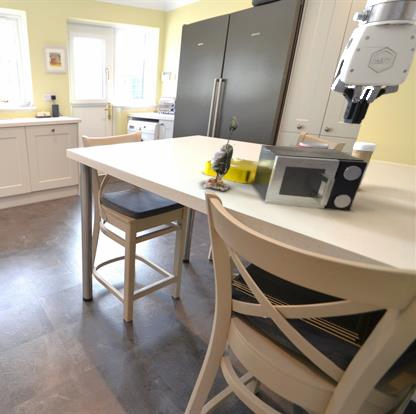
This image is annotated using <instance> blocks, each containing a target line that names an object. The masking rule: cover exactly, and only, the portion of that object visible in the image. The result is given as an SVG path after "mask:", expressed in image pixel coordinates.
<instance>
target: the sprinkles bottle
mask: <svg viewBox="0 0 416 414" xmlns="http://www.w3.org/2000/svg"><path fill="white" fill-rule="evenodd" d="M376 148H377V143H372V142H367V141H355V142H354V144H353V147H352V153H351V154H350V155H351V156H354V157H357V158H359V159H362V160H364V162H367V166H366V168H365V171H364V174H363V176H362V179H361V182H360V184H359V187H358V190H357V192H358V191H360V188H361V185H362V182H363V180H364V178H365V176H366V172H367V170H368V167H369V165H370V161H371V159H372V156H373V154H374V152H375V150H376Z"/></svg>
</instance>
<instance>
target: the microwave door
mask: <svg viewBox="0 0 416 414" xmlns="http://www.w3.org/2000/svg"><path fill="white" fill-rule="evenodd" d="M339 162H340V161H339V160H337V159H323V158H308V157H293V156H277V155H276V157H275V161H274V165H273V169H272V173H271V177H270V181H269V185H268V189H267V193H266V197H265V200H264V202H265V203H266V204H274V205H286V206H293V207H294V206H296V207H305V208H315V209H323V210H324V209H325V208H324V207H325V205H327V202H328V199H329V196H330V193H331V190H332V187H333V184H334V181H335V179H334V177H335V174H336V171H337V168H338V165H339Z"/></svg>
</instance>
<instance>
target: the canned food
mask: <svg viewBox="0 0 416 414" xmlns="http://www.w3.org/2000/svg"><path fill="white" fill-rule="evenodd" d="M298 147H304V148H322V149H329V147H330V146H329V144H327V143H323V142H317V141H301V142H299V145H298Z"/></svg>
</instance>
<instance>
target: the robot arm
mask: <svg viewBox="0 0 416 414" xmlns="http://www.w3.org/2000/svg"><path fill="white" fill-rule="evenodd" d="M353 21H354V22H358V27H357V28H355V29H354V30H353V32H352V34H351V36H350V38H349V40H348V42H347V43H346V45H345V48H344V51H343V53H342V55H341V57H340V60H339V63H338V65H337V68H336V70H335V74H334V79H333V84H332V85H331V86H332V87H331V88H330V91H331V92H334V93H337V94H341V95H343V97H344V99H345V101H346V103H347V105H346V108H345V111H344V113H343V116H342V117H343V123H344V124H349V125H361V123H362V121H363V120H364V119H365V117H366V115H367V113H368V110H369V107H370V104H372V103H374V102H375V101H376V100H377V99H378V98H380V97H381V96H383V95H388V94H394V93H397V92H398V91H399V89H400V85H402V84H404V83H405V81H406V80H407V78H408V75H409V73H410V70H411V67H412V64H413V61H414V58H415V54H416V24H415V22H416V0H367V2H366V5H365V8H364V9H363V10H361V11H357V12H356V13H355V14H354V15H353ZM363 87H365V89H364V90H363Z"/></svg>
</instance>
